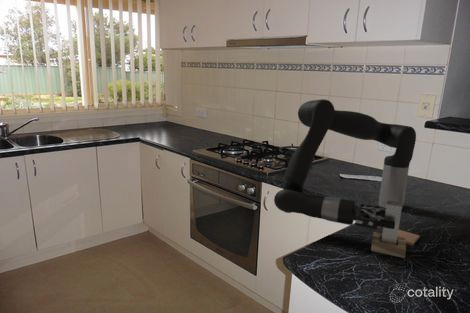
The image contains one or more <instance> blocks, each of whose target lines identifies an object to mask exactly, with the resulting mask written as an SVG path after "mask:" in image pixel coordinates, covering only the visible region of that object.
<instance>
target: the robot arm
mask: <svg viewBox="0 0 470 313" xmlns="http://www.w3.org/2000/svg"><path fill="white" fill-rule="evenodd" d="M297 117H298V120H299V121H300V123H302V125H304V126H305V127H307V128H309V129H308V132H307V134H306V135H305V137H304V139H303V140H302V142H301V143H300V144H299V146H298V147H297V148H296V149H295V151H294V152H293V154H292V156H291V157H290V160H289V162H288V165H287V168H286V171H285V173H284V174H285V175H284V181H285V182H284V186H283V189H281V190H279V191H278V192H276V194H275V195H274V198H273V202H274V205H275V207H276V208H277V209H278V210H280V211H282V212H284V213H287V214H290V213H295V214H302V215H305V216H307V217H312V218H314V219H315V218H316V219H321V220H326V221H327V222H332V223H337V224H342V225H348V226H352V225H353V224H354V223H355V224H354V225H355V226H356V227H363V228H367V229H370V230H371V229H372V230H377V229H378V228H383V227H384V228H389V229H394V228H395V221H391V220H385V211H386V204H387V201H393V202H399V203H402V209H401V210H403V209H404V203H405V196H406V188H407V184H408V177H409V176H408V175H409V169H410V164H411V161H412V159H413V155H414V150H415V145H416V140H417V133H416V129H415V128H414V127H413V126H409V125H403V124H395V123H394V124H393V123H385V122H379V121H378V120H377V119H376V118H374V117H373V116H371V115H368V114H365V113H361V112H357V111H351V110H350V111H349V110H337V109H335V106H334V104H333V103H332V102H331V101H330V100H328V99H324V98H323V99H314V100H308V101H306V102H304V103H303V104H301V105H300V106H299V108H298V110H297ZM328 131H332V132H335V133H336V134H337V133H338V134H341V135H344V136H347V137H350V138H354V139H358V140H364V141H376V142H378V143H381V144H383V145H385V146H387V147H390V148H395V151H394V154H392V155H388V156H385V157H384V160H383V169H382V176H381V183H380V191H379V198H378V205H371V204H366V203H365V204H364V203H360V205H359V206H356V201H355V200H351V199H346V198H340V197H334V196H321V195H317V194H308V193H305V192H304V191H303V190H304V187H305V183H306V180H307V178H308V175H309V172H310V170H311V169H310V168H311V166H312V164H313V160H314V158H315V156H316V154H317V152H318V150H319V148H320V147H321V144H322V142H323V140H324V139H325V137H326V134H327V132H328ZM382 208H384V209H382Z"/></svg>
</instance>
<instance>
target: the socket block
mask: <svg viewBox="0 0 470 313" xmlns="http://www.w3.org/2000/svg"><path fill="white" fill-rule="evenodd" d="M382 233H383V232H382ZM382 233H380V232H376V231H374V232H373V233H372V234H373V235H372V242H371V247H370V248H371V249H370V251H371V252H373V253H380V254H384V255H389V256H393V257H399V258H402V259H405V258H406V252H407V244H406V240H405V238H403V237H397V243H396V245H393V244H388V243H383V242H381V241H382Z"/></svg>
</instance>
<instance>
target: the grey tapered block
mask: <svg viewBox="0 0 470 313" xmlns="http://www.w3.org/2000/svg"><path fill="white" fill-rule="evenodd" d="M385 210H386V211H385V218H384V219H385V220H391V221H395V228H394V229H389V228H384V227H382V241H381V242H383V243H388V244H393V245H396V243H397V237H398V230H400V229H399V228H400V222H401V216H402V210H403V209H402V203H399V202H393V201H387V204H386V208H385Z"/></svg>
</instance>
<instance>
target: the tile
mask: <svg viewBox="0 0 470 313" xmlns="http://www.w3.org/2000/svg"><path fill="white" fill-rule="evenodd" d="M398 237H403V238H405V240H406V245H409V246H414V245H415V243H417V241H418V240H419V239H420V235H418V234H416V233H415V234H414V233H413V232H412V233H411V232H408V231H404V230H401V229H399V230H398Z"/></svg>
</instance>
